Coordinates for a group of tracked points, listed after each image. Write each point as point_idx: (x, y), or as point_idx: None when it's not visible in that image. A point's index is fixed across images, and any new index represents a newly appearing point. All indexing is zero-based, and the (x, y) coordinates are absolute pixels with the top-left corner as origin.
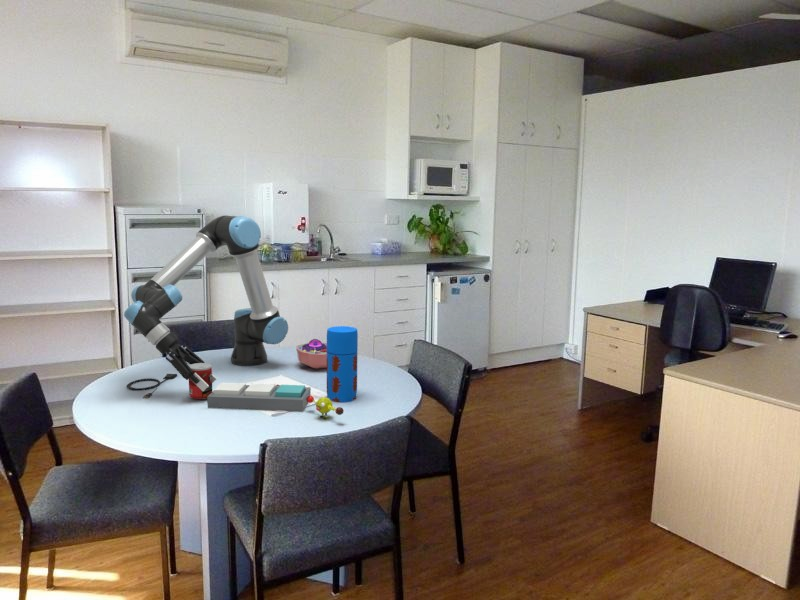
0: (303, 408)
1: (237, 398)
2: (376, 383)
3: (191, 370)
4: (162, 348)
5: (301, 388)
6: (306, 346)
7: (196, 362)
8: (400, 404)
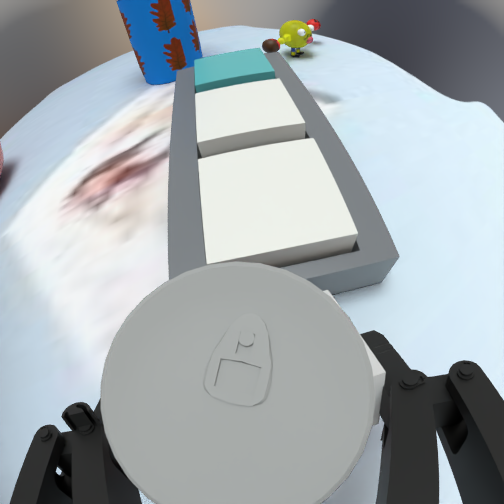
0: None
1: (342, 148)
2: (97, 81)
3: (401, 405)
4: None
5: (221, 55)
6: None
7: (114, 487)
8: (200, 35)
